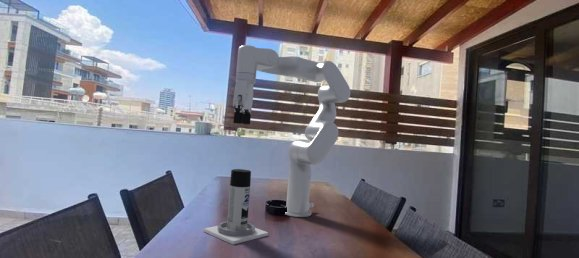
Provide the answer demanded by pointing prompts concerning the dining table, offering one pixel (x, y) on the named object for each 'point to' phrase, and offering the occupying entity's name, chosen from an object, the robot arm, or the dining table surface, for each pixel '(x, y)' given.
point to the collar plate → (235, 239)
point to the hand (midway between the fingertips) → (242, 123)
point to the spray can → (239, 200)
